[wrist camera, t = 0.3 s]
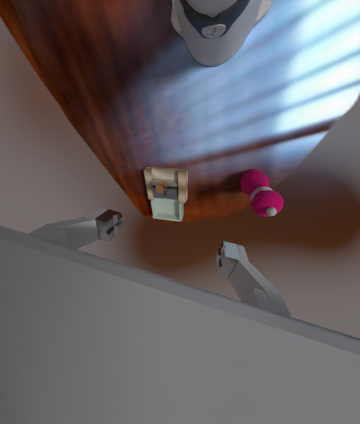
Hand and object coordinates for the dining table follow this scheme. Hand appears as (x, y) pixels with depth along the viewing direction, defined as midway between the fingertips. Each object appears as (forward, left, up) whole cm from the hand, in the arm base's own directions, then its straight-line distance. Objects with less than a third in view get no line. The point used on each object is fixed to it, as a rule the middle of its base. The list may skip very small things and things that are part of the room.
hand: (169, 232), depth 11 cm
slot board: (+12, -12, -38) cm, 41 cm away
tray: (+21, -12, -38) cm, 45 cm away
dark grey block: (+14, -10, -37) cm, 40 cm away
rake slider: (+10, -12, -36) cm, 40 cm away
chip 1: (+14, -14, -37) cm, 42 cm away
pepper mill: (+8, +16, -38) cm, 42 cm away
